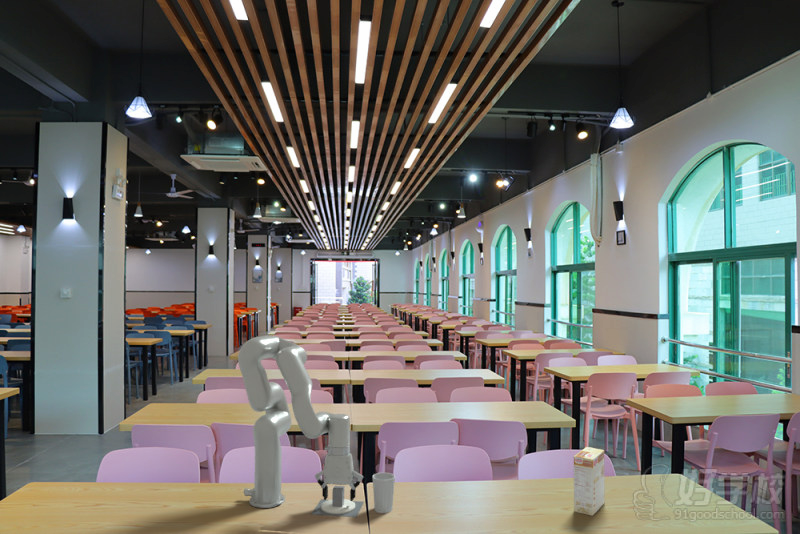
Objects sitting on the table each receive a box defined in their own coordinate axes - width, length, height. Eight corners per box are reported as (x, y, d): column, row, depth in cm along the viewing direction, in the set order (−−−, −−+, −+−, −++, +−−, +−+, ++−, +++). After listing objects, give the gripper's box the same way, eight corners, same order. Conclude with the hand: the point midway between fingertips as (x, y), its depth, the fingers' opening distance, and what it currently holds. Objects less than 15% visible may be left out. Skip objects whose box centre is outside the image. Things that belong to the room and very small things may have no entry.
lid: (317, 513, 197) (317, 492, 197) (325, 500, 209) (326, 481, 209) (351, 515, 195) (351, 494, 196) (358, 502, 207) (358, 482, 207)
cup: (392, 516, 196) (392, 480, 197) (369, 514, 198) (370, 479, 198) (396, 507, 204) (397, 473, 204) (375, 505, 206) (375, 471, 206)
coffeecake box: (586, 498, 214) (586, 446, 215) (605, 503, 210) (605, 449, 211) (572, 511, 202) (572, 455, 203) (593, 516, 198) (593, 459, 199)
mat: (310, 515, 196) (310, 514, 196) (321, 500, 210) (321, 499, 210) (356, 518, 194) (356, 517, 194) (364, 503, 208) (364, 501, 208)
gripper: (312, 452, 200) (312, 502, 199) (361, 454, 198) (361, 504, 197) (318, 446, 207) (317, 494, 207) (365, 448, 205) (365, 496, 205)
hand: (338, 499), depth 202 cm, fingers open, 9 cm apart
